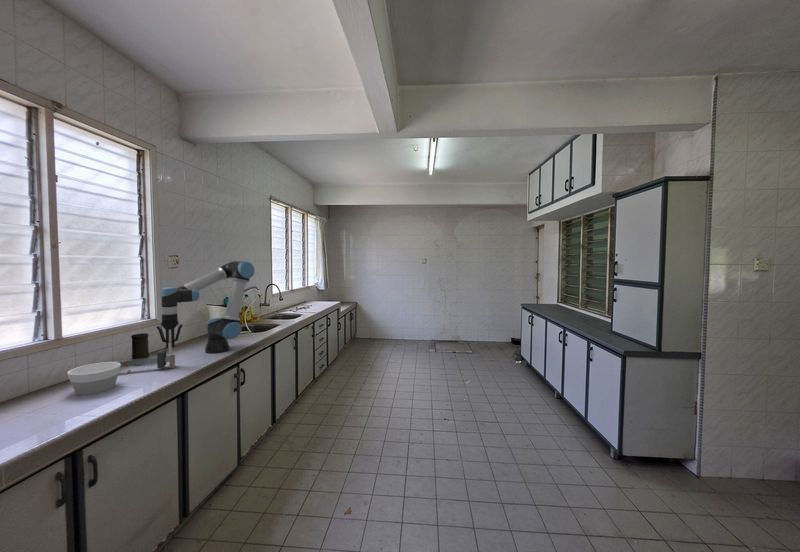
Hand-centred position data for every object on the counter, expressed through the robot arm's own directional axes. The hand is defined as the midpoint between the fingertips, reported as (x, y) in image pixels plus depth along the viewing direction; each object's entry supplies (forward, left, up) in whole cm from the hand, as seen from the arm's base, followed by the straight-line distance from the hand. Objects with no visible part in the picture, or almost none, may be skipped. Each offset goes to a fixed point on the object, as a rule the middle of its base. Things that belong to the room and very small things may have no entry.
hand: (170, 353), depth 191 cm
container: (+18, -17, -9) cm, 26 cm away
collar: (+4, 0, -7) cm, 8 cm away
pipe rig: (+13, 0, -9) cm, 16 cm away
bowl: (+27, +22, -9) cm, 36 cm away
